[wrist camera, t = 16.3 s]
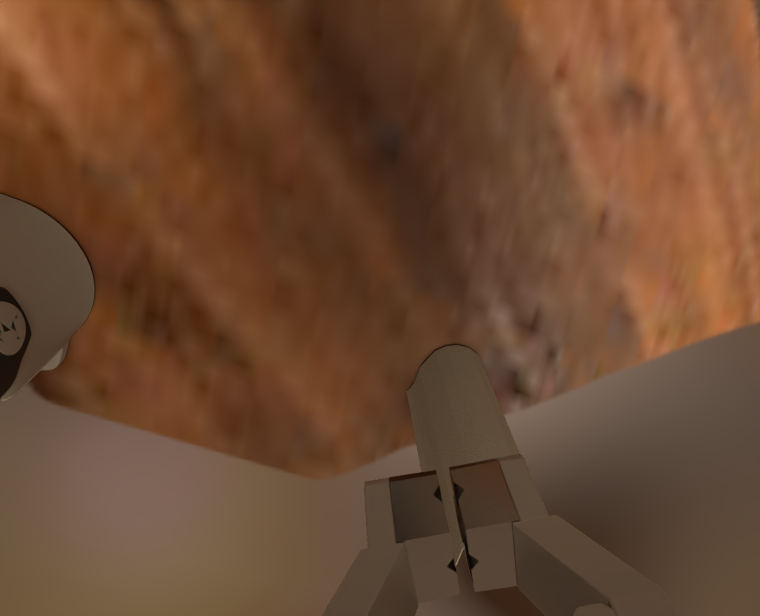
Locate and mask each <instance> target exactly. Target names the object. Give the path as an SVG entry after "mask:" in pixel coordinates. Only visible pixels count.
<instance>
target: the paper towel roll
mask: <svg viewBox="0 0 760 616" xmlns="http://www.w3.org/2000/svg"><path fill="white" fill-rule="evenodd" d="M406 392H407V398H408V403H409V408H410V413H411V419H412V424H413V429H414V434H415V440H416V445H417V450H418V455H419V460H420V466H421V471H422V472H427V471H433V470H436V472H437V477H438V481H439V485H440V491H441V497H442V502H443V503H444V508H445V513H446V517H447V522H448V527H449V532H450V537H451V543H452V548H453V554H454V557H453V558H454V563H455V566H456V564H457V562H458V560H459V558H460V556H461V553H462V551H463V549H464V551H465V545H464V543H463V542H462V538H461V534H460V530H459V525H458V521H457V515H456V510H455V504H454V498H453V495H454V492H453V488H452V484H451V479H450V471H449V467H453V466H458V465H463V464H468V463H473V462H478V461H484V460H489V459H494V458H495V459H497V458H500V457H505V456H510V455H515V454H520V453H519V450H518V448H517V446H516V444H515V441H514V439H513V436H512V434H511V431H510V429H509V427H508V424H507V422H506V419H505V417H504V414H503V412H502V410H501V407H500V405H499V402H498V400H497V398H496V395H495V393H494V391H493V388H492V386H491V383H490V381H489V379H488V376H487V374H486V371H485V369H484V367H483V364H482V362H481V360H480V358H479V356H478V354H476V353H475V352H474V351H472V350H471V349H470V348H468V347H464V346H460V345H451V346H445V347H443V348H440V349H438V350H436V351H435V352H434V353H433V354H432V355H431V356H430V357H429V358H428V359H427V360H426V361H425V362H424V363H423V364H422V365H421V367H420V368H419V370H418V373H417V376H416V380H415V382H414V383H413V385H412V386H411V388H410V389H409V390H408V391H406ZM465 555H466V551H465ZM466 559H467V558H466Z"/></svg>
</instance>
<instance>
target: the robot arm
mask: <svg viewBox="0 0 760 616" xmlns="http://www.w3.org/2000/svg"><path fill="white" fill-rule="evenodd" d="M93 301H94V280H93V275H92V271H91V268H90V265H89V263H88V261H87V259H86V257H85V255H84V253H83V251H82V250H81V248H80V247H79V245H78V244H77V242H76V241H75V240H74V239H73V237H72V236H71V235H70V234H69V233H68V232H67V231H66V230H65V229H64V228H63V227H62V226H61V225H60V224H59V223H57V222H56V221H55V220H54V219H52V218H51V217H49V216H48V215H47V214H45V213H44V212H42V211H40V210H39V209H37V208H35V207H33V206H31V205H29V204H27V203H25V202H22V201H20V200H17V199H14V198H11V197H9V196H6V195H3V194H0V401H7V400H9V399H11V398H12V397H13V396H15V395H16V394H17V393H18V392H19V391H20V390H21V389H22V388H23V387H24V386H25V385H26V384H27V383H28V382H29V381H30V380H31V379H32V378H33V377H34V376H35V375H36V374H37V373H38V372H39V371H40V370H52V369H55V368H56V367H58V366H59V365H60V364H61V363H62V362H63V360H64V359H65V356H66V353H67V349H68V344H69V340H70V338H71V337H72V336H73V334H74V333H75V332H76V331H77V330H78V329H79V328H80V327H81V326H82V325H83V323H84V322H85V321H86V319H87V317H88V316H89V314H90V311H91V309H92V305H93ZM449 471H450V479H451V484H452V488H453V492H454V495H453V498H454V504H455V510H456V515H457V521H458V525H459V530H460V534H461V538H462V542H463V543H464V545H465V551H466V558H467V563H468V567H469V571H470V575H471V579H472V583H473V587H474V591H475V592H478V591H485V590H491V589H498V588H505V587H511V586H518V589H519V590H520V591H521V592H522V593H523V594H524V595H525V596H526V597H527V598H528V599H529V600H530V601H531V602H532V603H533V604H534V605H535V606H536V607H537V608H538V609H539V610H540V611H541V612H542V613H543V614H544V615H545V616H678V615H677V613H676V611H675V609H674V608H673V606H672V604H671V602H670V600H669V599H668V597H667V595H666V593H665V592H664V590H663V589H661V588H660V587H658V586H657V585H656V584H654V583H653V582H651V581H650V580H648V579H647V578H646V577H644V576H643V575H641V574H640V573H638V572H637V571H636V570H634V569H633V568H631V567H630V566H628V565H627V564H626V563H624V562H623V561H621V560H620V559H618V558H617V557H616V556H614V555H613V554H611V553H610V552H608V551H607V550H605V549H604V548H603V547H601V546H600V545H598V544H597V543H596V542H594V541H593V540H591V539H590V538H588V537H587V536H586V535H584V534H583V533H581V532H580V531H578V530H577V529H575V528H574V527H573V526H571V525H570V524H568V523H567V522H565V521H564V520H563V519H561V518H560V517H558V516H557V515H553V516H549V515H548V513H547V511H546V508H545V506H544V504H543V501H542V499H541V497H540V494H539V492H538V490H537V487H536V485H535V483H534V480H533V478H532V475H531V473H530V471H529V468H528V466H527V464H526V461H525V459H524V457H523V456H522V455H521V454H515V455H510V456H505V457H500V458H497V459H495V458H494V459H489V460H484V461H478V462H473V463H468V464H463V465H458V466H453V467H449ZM364 496H365V511H366V526H367V542H368V549H364V550H361V551H360V553H359V554H358V556H357V557H356V559H355V561H354V563H353V564H352V566H351V568H350V569H349V571H348V572H347V574H346V576H345V578H344V579H343V581H342V583H341V584H340V586H339V588H338V589H337V591H336V593H335V594H334V596H333V598H332V599H331V601H330V603H329V604H328V606H327V608H326V610H325V611H324V613H323V614H322V616H415V614H416V611H417V609H418V603H422V602H427V601H431V600H436V599H441V598H446V597H451V596H456V595H459V594H460V593H459V586H458V579H457V573H456V568H455V563H454V558H453V557H454V554H453V548H452V543H451V537H450V532H449V527H448V522H447V517H446V513H445V508H444V503H443V502H442V497H441V491H440V485H439V481H438V477H437V472H436V470H433V471H427V472H421V473H414V474H407V475H402V476H394V477H390V478H385V479H378V480H372V481H365V486H364Z"/></svg>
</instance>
